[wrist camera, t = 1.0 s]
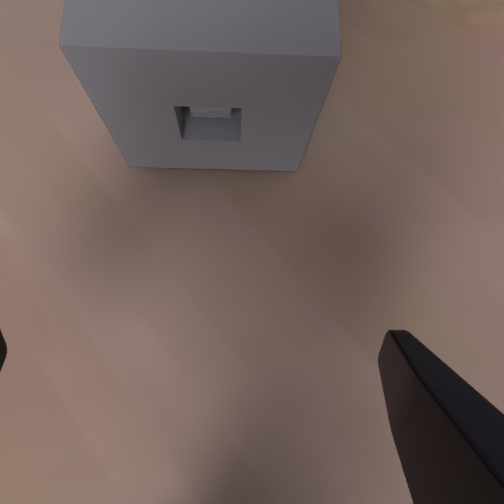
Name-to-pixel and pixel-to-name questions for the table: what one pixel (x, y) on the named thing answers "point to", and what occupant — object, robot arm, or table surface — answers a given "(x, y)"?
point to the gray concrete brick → (205, 76)
